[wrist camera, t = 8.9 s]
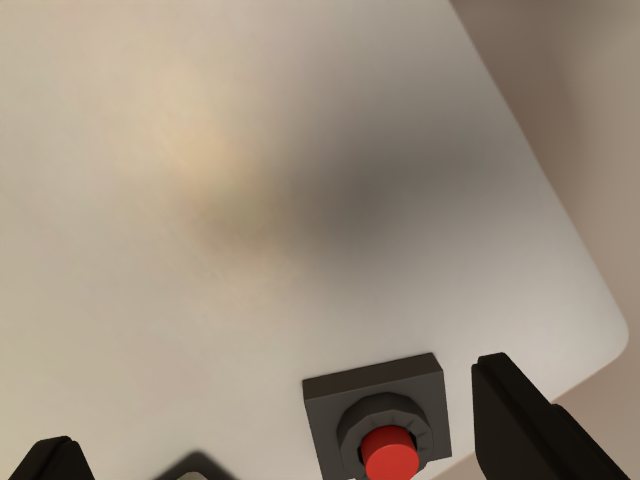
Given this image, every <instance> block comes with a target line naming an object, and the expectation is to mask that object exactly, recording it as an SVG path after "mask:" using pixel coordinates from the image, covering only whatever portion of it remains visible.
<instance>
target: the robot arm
mask: <svg viewBox="0 0 640 480" xmlns="http://www.w3.org/2000/svg"><path fill="white" fill-rule="evenodd" d="M471 373H472V394H473V414H474V435H475V452H476V456H477V460H478V463H479V465H480V468H481V470H482V471H483V473H484V475H485V477H486V479H487V480H630V479H629V478H628V476H627V475H625V473H624V472H623V471H622V470H621V469H620V468H619V467H618V466H617V465H616V464H615V463H614V461H613V460H612V459H611V458H610V457H609V456H608V455H607V454H606V453H605V452H604V451H603V449H602V448H601V447H600V446H599V445H598V444H597V443H596V442H595V441H594V440H593V439H592V438H591V437H590V435H589V434H588V433H587V432H586V431H585V430H584V429H583V428H582V427H581V426H580V425H579V423H578V422H577V421H576V420H575V419H574V418H573V417H572V416H571V415H570V414H569V413H568V412H567V411H566V410H565V409H564V408H563V407H562V406H560V405H558V404H550V403H549V402H548V400H547V399H546V398H545V397H544V396H543V395H542V394H541V393H540V392H539V390H538V389H537V388H536V387H535V386H534V385H533V384H532V383H531V381H530V380H529V379H528V378H527V377H526V376H525V375H524V374H523V372H522V371H521V370H520V369H519V368H518V367H517V366H516V365H515V363H514V362H513V361H512V360H511V359H510V358H509V357H508V356H507V355H506V354H505V353H503V352H501V353H495V354H490V355H485V356H480V357H479V358H478V363H477V364H473V365H472V367H471ZM8 480H95V479H94V476H93V474H92V472H91V470H90V468H89V465H88V463H87V461H86V459H85V456H84V454H83V452H82V450H81V448H80V445H79V444H78V442H76V441H72V440H71V438H70V437H68V436H60V437H55V438H50V439H44V440H40V441H38V442H36V443H35V444H34V445H33V447H32V448H31V449H30V451H29V452H28V453H27V455H26V456H25V458H24V459H23V460H22V462H21V463H20V464H19V466H18V467H17V468H16V470H15V471H14V473H13V474H12V475H11V477H10V478H9V479H8Z"/></svg>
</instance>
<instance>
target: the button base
mask: <svg viewBox="0 0 640 480" xmlns="http://www.w3.org/2000/svg"><path fill="white" fill-rule="evenodd" d="M302 384H303V397H304V404H305V408H306V412H307V416H308V420H309V424H310V428H311V433H312V437H313V441H314V445H315V449H316V453H317V457H318V461H319V465H320V469H321V474H322V478H323V480H348V479H353V478H355V479H356V480H370V479H369V477H368V476H367V474H366V470H365V466H364V462H363V457H362V453H361V445H362V442H363V440H364V438H365V437H366V435H367V434H368V433H369V432H371V431H372V430H374V429H376V428H378V427H381V426H386V425H395V426H399V427H401V428H403V429H405V430H406V431H407V432H408V433H409V435H410V436H411V439H412V441H413V444H414V447H415V449H416V452H417V454H418V457H419V467H418V470H417V472H416V473H415V474H417V473H418V472H419V471H421V470H422V469H424V467H425V466H426V464H427V462H430V461H434V460H439V459H443V458H448V457H452V451H451V441H450V431H449V422H448V412H447V402H446V393H445V383H444V373H443V369H442V368H441V366H440V365H439V363H438V361H437V360H436V358H435V356H434V355H433V353H430V354H425V355H421V356H416V357H411V358H407V359H402V360H397V361H393V362H388V363H384V364H379V365H374V366H370V367H365V368H360V369H356V370H351V371H346V372H342V373H337V374H332V375H328V376H323V377H318V378H314V379H309V380H304V381H303V382H302Z"/></svg>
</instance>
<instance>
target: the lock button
mask: <svg viewBox="0 0 640 480" xmlns="http://www.w3.org/2000/svg"><path fill="white" fill-rule="evenodd" d="M361 453H362V457H363V462H364V466H365V470H366V474H367V476H368V477H369V479H370V480H410V479H411V478H412V477H413V476H414V475H415V473H416V472H417V470H418V467H419V457H418V454H417V452H416V449H415V447H414V444H413V441H412V439H411V436H410V435H409V433H408V432H407V431H406V430H405V429H403V428H401V427H399V426H395V425H386V426H381V427H378V428H376V429H374V430H372V431H371V432H369V433H368V434H367V435H366V437H365V438H364V440H363V442H362V445H361Z"/></svg>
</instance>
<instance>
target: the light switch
mask: <svg viewBox="0 0 640 480" xmlns="http://www.w3.org/2000/svg"><path fill="white" fill-rule="evenodd" d="M177 480H207V479H206V478H205V477H204V476H203V475H201V474H200V473H197V472H187V473H186V474H184V475H183V476H181V477H180V478H179V479H177Z"/></svg>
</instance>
